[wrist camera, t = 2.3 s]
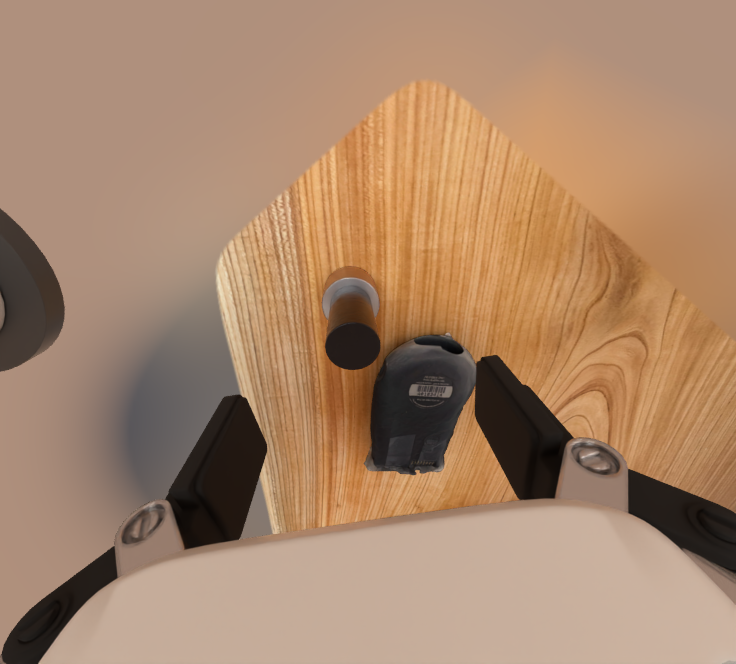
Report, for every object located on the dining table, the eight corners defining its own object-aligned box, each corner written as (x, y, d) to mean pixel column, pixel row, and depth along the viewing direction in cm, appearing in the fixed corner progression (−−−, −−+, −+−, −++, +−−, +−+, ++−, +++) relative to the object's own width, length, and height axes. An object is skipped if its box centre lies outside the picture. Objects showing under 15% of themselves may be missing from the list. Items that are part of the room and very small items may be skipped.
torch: (318, 305, 24) (304, 367, 16) (333, 258, 22) (327, 301, 14) (364, 321, 25) (374, 386, 17) (383, 276, 23) (404, 326, 15)
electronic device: (443, 437, 34) (486, 336, 26) (450, 484, 30) (506, 380, 21) (365, 427, 34) (382, 322, 26) (361, 472, 30) (379, 363, 21)
